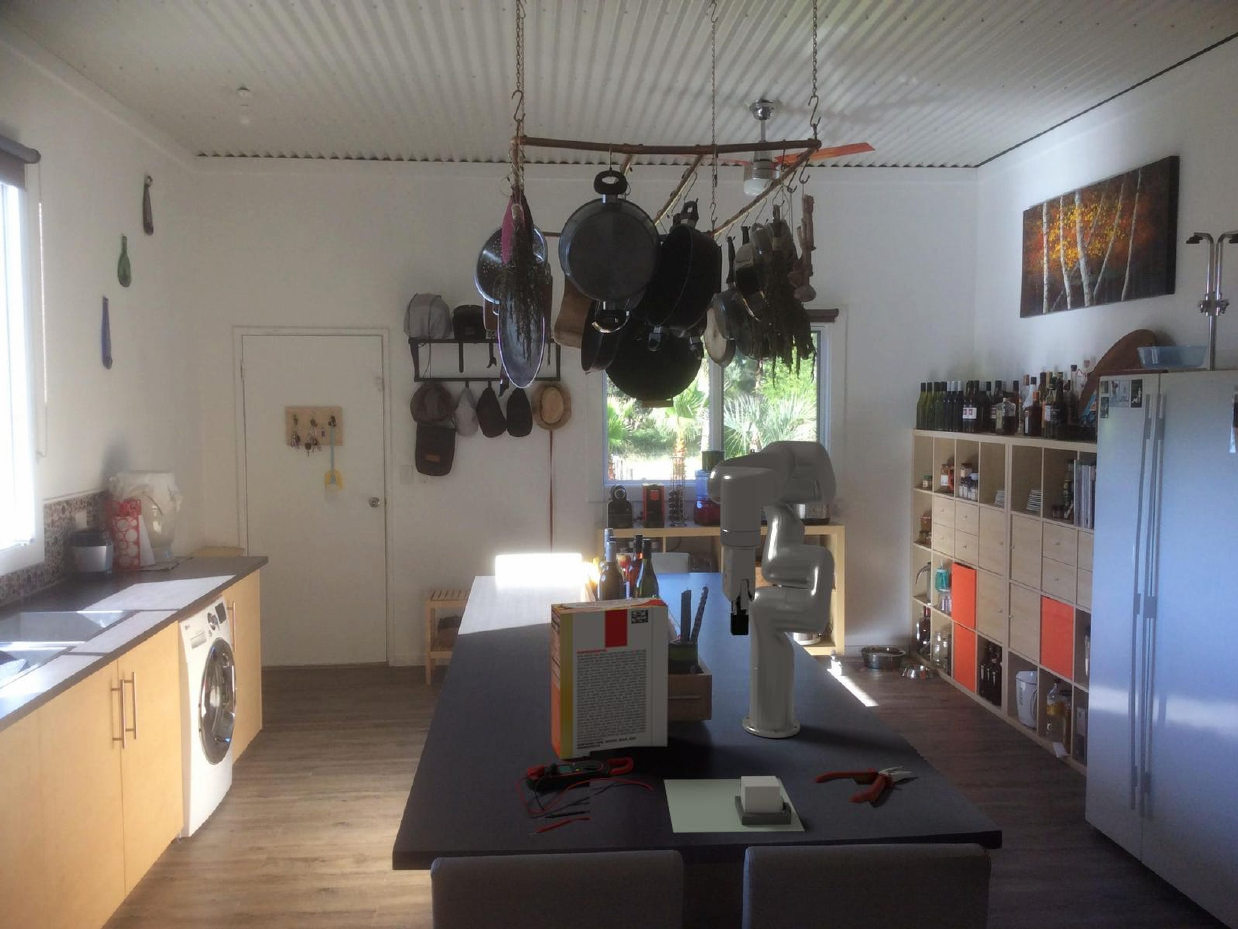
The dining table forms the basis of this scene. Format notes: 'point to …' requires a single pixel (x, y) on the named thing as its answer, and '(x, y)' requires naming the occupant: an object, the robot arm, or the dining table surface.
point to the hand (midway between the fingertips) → (739, 634)
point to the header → (764, 815)
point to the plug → (761, 794)
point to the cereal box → (608, 675)
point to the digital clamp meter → (572, 780)
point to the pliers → (879, 779)
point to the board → (715, 807)
